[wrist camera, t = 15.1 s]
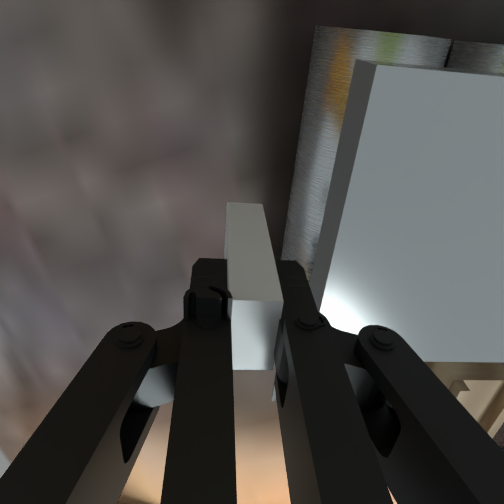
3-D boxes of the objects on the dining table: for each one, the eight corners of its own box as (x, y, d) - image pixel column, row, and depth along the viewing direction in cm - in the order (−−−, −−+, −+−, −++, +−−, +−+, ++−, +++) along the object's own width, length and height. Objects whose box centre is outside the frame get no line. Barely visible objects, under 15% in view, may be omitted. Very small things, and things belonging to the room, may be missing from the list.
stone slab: (300, 328, 22) (308, 360, 20) (355, 58, 15) (376, 64, 13) (492, 332, 23) (518, 362, 21) (630, 85, 16) (690, 94, 14)
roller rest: (407, 389, 35) (433, 439, 31) (428, 342, 32) (460, 391, 28) (459, 389, 36) (492, 439, 32) (485, 343, 33) (525, 391, 28)
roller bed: (269, 279, 28) (280, 337, 23) (304, 25, 19) (333, 26, 14) (437, 284, 29) (483, 341, 24) (535, 49, 21) (638, 58, 16)
